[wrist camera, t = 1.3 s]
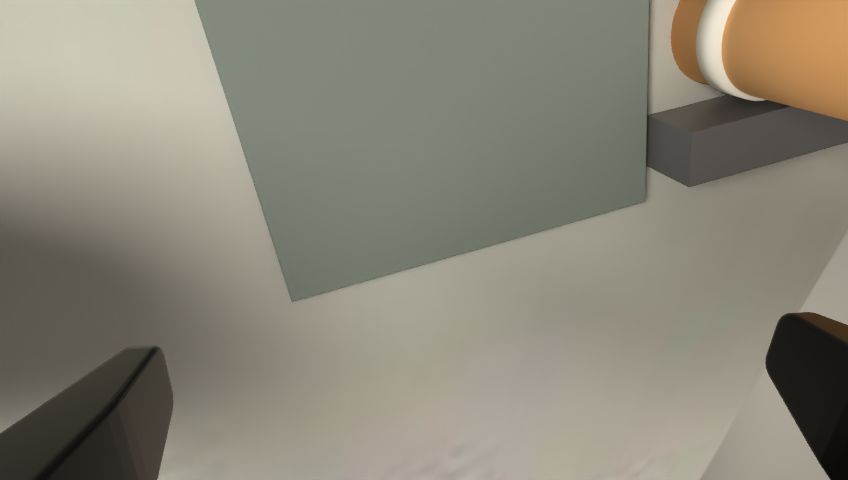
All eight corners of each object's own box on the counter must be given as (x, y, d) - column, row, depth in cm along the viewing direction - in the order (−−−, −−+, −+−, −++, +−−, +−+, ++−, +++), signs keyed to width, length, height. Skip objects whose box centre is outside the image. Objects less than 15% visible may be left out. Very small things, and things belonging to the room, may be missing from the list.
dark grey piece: (646, 165, 22) (689, 187, 20) (651, -115, 18) (706, -125, 16) (818, 118, 24) (876, 133, 22) (862, -153, 19) (940, -168, 17)
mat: (291, 296, 21) (292, 301, 20) (169, -83, 15) (167, -84, 15) (639, 198, 23) (645, 201, 23) (644, -163, 17) (652, -165, 17)
